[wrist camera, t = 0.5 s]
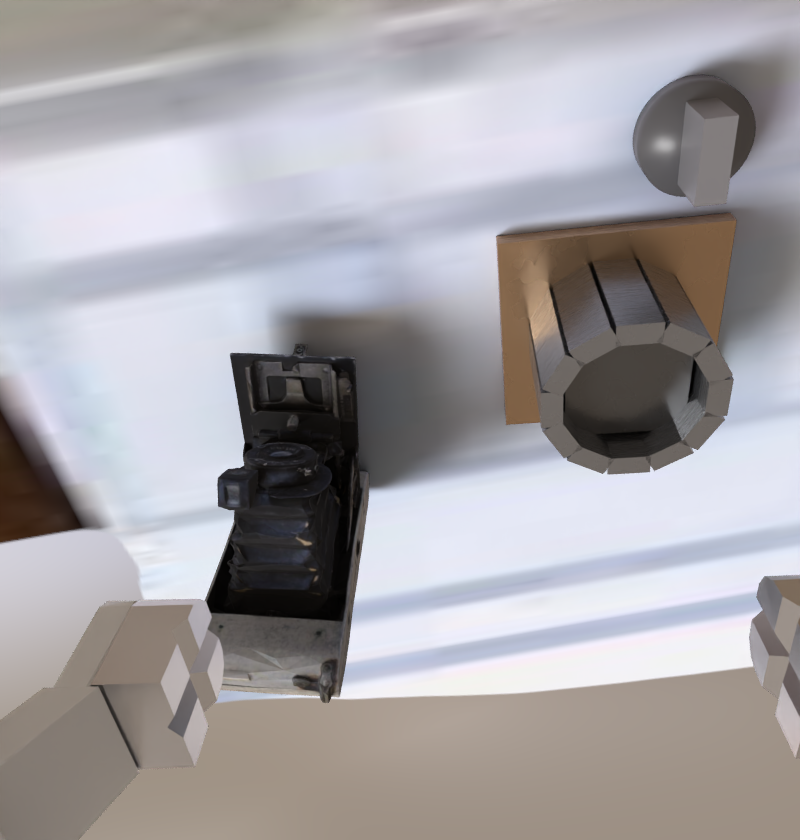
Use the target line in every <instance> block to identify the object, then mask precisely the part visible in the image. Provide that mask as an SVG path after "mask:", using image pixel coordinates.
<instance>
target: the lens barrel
mask: <svg viewBox="0 0 800 840" xmlns="http://www.w3.org/2000/svg"><path fill="white" fill-rule="evenodd" d="M736 221H737V220H736V219H735V218H734V217H733V215H732V214H731V213H722V214H712V215H702V216H692V217H682V218H673V219H663V220H653V221H643V222H633V223H623V224H613V225H603V226H593V227H583V228H573V229H563V230H553V231H543V232H533V233H523V234H513V235H503V236H496V241H497V261H498V280H499V300H500V319H501V338H502V358H503V377H504V397H505V415H506V425H508V424H523V423H538V422H541V428H542V430H543V433H544V434H545V435H546V436H547V438H548V439H549V440H550V441H551V443H552V444H553V445H554V446H555V448H556V449H557V450H558V451H559V453H560V454H561V455H562V456H563V458H566V457H567V461H570V462H573V463H575V464H578V465H581V466H583V467H586V468H589V469H591V470H594V471H597V472H599V473H602V474H603V473H604V472H605V471H606V470H607V474H625V473H642V472H650V465H651V467H652V468H653V469H654V471H655V470H657V469H660V468H662V467H664V466H666V465H668V464H671V463H673V462H675V461H677V460H679V459H681V458H684V457H686V456H688V455H690V454H692V453H694V452H693V450H692V448H694V449H697V450H698V449H699V448H700V447H701V446H702V445H703V444H704V442H705V441H706V440H707V439H708V438H709V437H710V436H711V435H712V434H713V432H714V431H715V430H716V429H717V428H718V427H719V426H720V425H721V423H722V422H723V421H724V420H725V419H724V417H723V416H727V413H728V408H729V402H730V397H731V391H732V385H733V380H734V379H733V377H732V375H733V374H732V373H731V371H730V369H729V367H728V366H727V364H726V362H725V360H724V359H723V357H722V355H721V353H720V352H719V350H718V348H717V342H718V335H719V329H720V323H721V316H722V310H723V304H724V297H725V291H726V285H727V278H728V272H729V266H730V259H731V253H732V247H733V240H734V234H735V228H736Z"/></svg>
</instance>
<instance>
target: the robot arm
mask: <svg viewBox="0 0 800 840" xmlns="http://www.w3.org/2000/svg"><path fill="white" fill-rule="evenodd" d="M757 599H758V601H759V603H760V605H761V607H762V609H763V611H761V612H760V613H759V614H758V615H757V616H756V617H755V618H754V619H752V622H751V629H750V636H749V640H750V650H751V658H752V661H753V665H754V668H755V672H756V674H757V676H758V678H759V681H760V683H761V685H762V687H763V688H764V689H766V690H767V691H768V692H770V693H771V694H772V695H774V696H775V697H776V698H778V699H779V700H778V704H777V709H776V713H775V716H776V718H777V720H778V722H779V724H780V726H781V728H782V731H783V733H784V735H785V737H786V739H787V741H788V743H789V745H790V748H791V750H792V752H793V754H794V756H795V758H800V575H784V576H764V578H763V579H762V581H761V582H760V583H759V588H758V592H757ZM211 618H212V616H211V613H210V611H209V608H208V606H207V603H206V601H203V600H201V599H171V600H138V601H107V602H106V603H105V604H104V605H102V606H101V607H99V609H98V610H97V612H96V614H95V616H94V617H93V619H92V621H91V622H90V624H89V626H88V628H87V629H86V631H85V633H84V635H83V636H82V638H81V640H80V642H79V643H78V645H77V647H76V649H75V650H74V652H73V654H72V656H71V657H70V659H69V661H68V662H67V664H66V666H65V668H64V669H63V671H62V673H61V675H60V677H59V678H58V680H57V682H56V684H55V685H54V687H52V688H43V689H41V690H40V691H39V692H37V693H36V694H35V695H33V696H32V697H31V698H29V699H28V700H27V701H26V702H24V703H23V704H21V705H20V706H19V707H17V708H16V709H15V710H13V711H12V712H10V713H9V714H8V715H6V716H5V717H4V718H3V719H1V720H0V840H79V839H80V838H81V837H82V835H83V834H84V833H85V832H86V831H87V830H88V829H89V828H90V827H91V825H92V824H93V823H94V822H95V821H96V820H97V819H98V818H99V817H100V816H101V815H102V813H103V812H104V811H105V810H106V809H107V808H108V807H109V806H110V804H112V802H113V801H114V800H115V799H116V798H117V797H118V796H119V795H120V794H121V792H122V791H123V790H124V789H125V788H126V787H127V786H128V785H129V784H130V782H131V781H132V780H133V779H134V778H135V777H136V776H137V775H138V774H139V771H138V770H140V769H161V768H185V767H195V766H196V763H197V760H198V757H199V754H200V751H201V748H202V745H203V742H204V739H205V736H206V733H207V730H208V727H209V726H208V724H207V721H206V718H205V715H204V712H205V711H206V710H207V709H208V708H209V707H210V706H211V705H213V704H214V703H215V702H216V701H217V699H218V696H219V692H220V689H221V686H222V680H223V670H224V659H223V650H222V646H221V643H220V640H219V638H218V637H217V636H216V635H215V634H213V633H212V632H211V631H209V630H208V626H209V623H210V621H211Z"/></svg>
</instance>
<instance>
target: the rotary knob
mask: <svg viewBox="0 0 800 840" xmlns="http://www.w3.org/2000/svg"><path fill="white" fill-rule="evenodd" d="M754 137H755V118H754V113H753V111H752V108H751V106H750V104H749V102H748V101H747V99H746V98H745V97H744V96H743V95H742V94H741V93H740V92H739V91H737V90H736V89H735V88H733V87H732V86H730V85H729V84H728V83H726V82H725V81H723V80H721V79H719V78H716V77H713V76H709V75H692V76H686V77H683V78H680V79H677V80H675V81H673V82H671V83H669V84H668V85H666V86H664V87H663V88H662V89H660V90H659V91H658V92H657V93H656V94H655V95H654V96H653V97H652V98H651V99H650V100H649V101H648V102H647V104H646V105H645V107H644V108H643V110H642V111H641V113H640V115H639V117H638V120H637V122H636V125H635V129H634V134H633V150H634V155H635V158H636V161H637V163H638V165H639V166H640V168H641V169H642V171H643V172H644V174H645V175H646V177H647V178H648V180H649V181H650V182H651V183H652V184H653V185H654V186H655V187H656V188H657V189H659V190H661V191H662V192H664V193H667V194H669V195H673V196H680V197H687V198H688V199H689V200H690V202H691V203H692V204H693V206H694V207H697V206H707V205H717V204H726V201H727V194H728V188H729V181H730V178H731V177H732V176H733V175H734V174H735V173H736V172H737V171H738V170H739V169H740V167H741V166H742V165H743V163H744V162H745V160H746V159H747V157H748V155H749V153H750V150H751V148H752V145H753V141H754Z"/></svg>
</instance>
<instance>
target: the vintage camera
mask: <svg viewBox="0 0 800 840" xmlns="http://www.w3.org/2000/svg"><path fill="white" fill-rule="evenodd" d="M306 351H307V345H304V344H296V345H295V349H294V353H293V355H277V354H252V353H231V354H230V357H231V363H232V369H233V375H234V381H235V387H236V393H237V399H238V405H239V411H240V417H241V423H242V429H243V435H244V440H245V445H244V450H243V461H244V466H243V467H241V468H235V469H228V470H226V471H225V472H224V473H223V474H222V475H221V476H220V477H218V485H217V486H218V506H219V507H222V508H225V509H228V510H235V512H234V523H233V526H232V529H231V531H230V534H229V537H228V540H227V543H226V546H225V549H224V552H223V554H222V557H221V559H220V562H219V565H218V567H217V570H216V573H215V575H214V578H213V581H212V583H211V586H210V589H209V591H208V594H207V597H206V599H205V601H206V603H207V606H208V608H209V611H210V613H211V616H212V618H211V621H210V623H209V626H208V630H209V631H211V632H212V633H213V634H215V635H216V636H217V637H218V638H219V640H220V643H221V646H222V650H223V659H224V670H223V680H222V686H221V689H220V690H230V691H244V692H257V693H273V694H291V695H309V696H320V698H321V700H322V702H324V703H329V701H330V699H331V697H340V692H341V687H342V682H343V677H344V671H345V665H346V659H347V652H348V645H349V637H350V629H351V620H352V612H353V604H354V597H355V591H356V584H357V578H358V571H359V563H360V556H361V550H362V544H363V537H364V530H365V522H366V514H367V508H368V499H369V473H368V472H366V471H360V468H359V462H358V448H359V443H358V417H357V391H356V366H355V358H354V357H327V356H305V353H306Z"/></svg>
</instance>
